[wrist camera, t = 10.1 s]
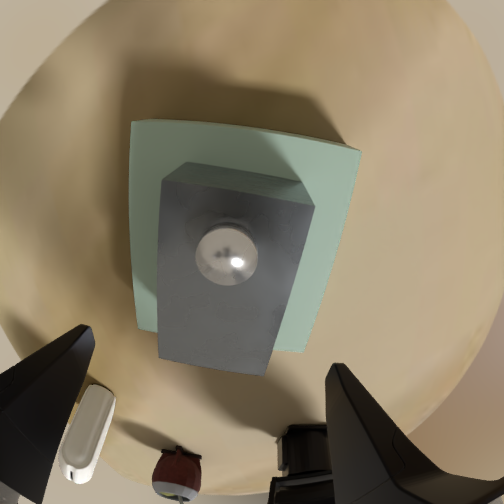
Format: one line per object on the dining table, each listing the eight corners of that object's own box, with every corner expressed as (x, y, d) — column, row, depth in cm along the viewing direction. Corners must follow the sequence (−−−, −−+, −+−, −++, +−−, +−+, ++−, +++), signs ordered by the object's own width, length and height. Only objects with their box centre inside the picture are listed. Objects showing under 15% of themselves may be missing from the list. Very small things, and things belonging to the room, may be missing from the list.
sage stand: (346, 144, 16) (362, 151, 14) (299, 325, 23) (303, 352, 20) (151, 118, 16) (131, 121, 13) (150, 304, 22) (138, 328, 20)
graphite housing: (263, 330, 19) (263, 387, 15) (174, 314, 19) (155, 368, 15) (302, 181, 15) (319, 213, 10) (186, 161, 14) (154, 184, 10)
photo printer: (111, 423, 33) (87, 493, 22) (85, 410, 32) (57, 478, 21) (120, 393, 29) (89, 481, 18) (88, 377, 28) (50, 462, 17)
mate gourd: (155, 440, 34) (134, 527, 21) (208, 448, 34) (196, 540, 21) (164, 458, 38) (148, 533, 24) (211, 465, 38) (202, 544, 24)
